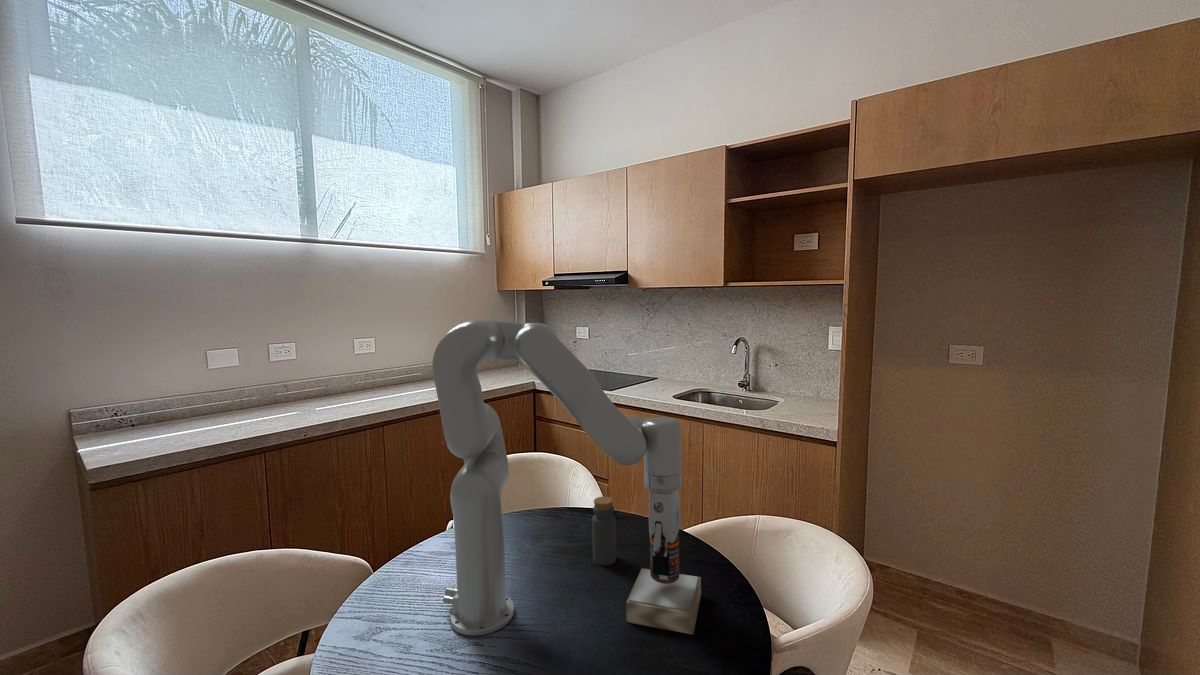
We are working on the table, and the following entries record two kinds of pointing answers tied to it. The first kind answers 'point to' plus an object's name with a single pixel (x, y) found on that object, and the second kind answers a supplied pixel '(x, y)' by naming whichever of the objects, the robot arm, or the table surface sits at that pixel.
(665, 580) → the supplement bottle
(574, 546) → the table surface
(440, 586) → the table surface
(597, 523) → the bottle
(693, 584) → the grey square box
